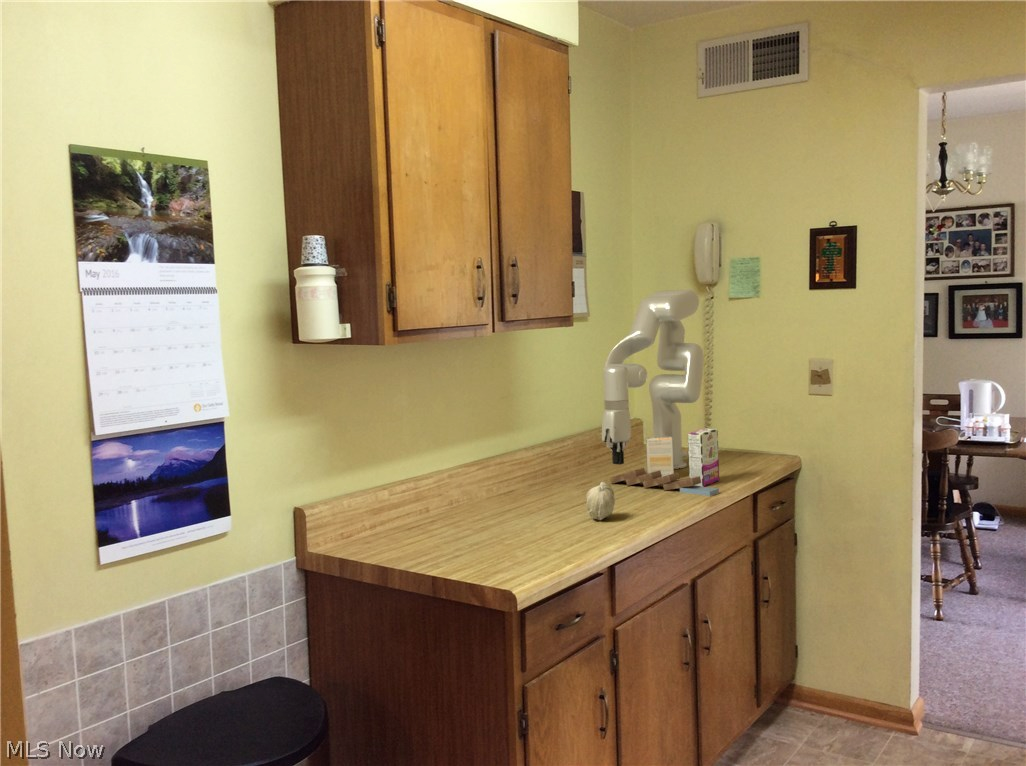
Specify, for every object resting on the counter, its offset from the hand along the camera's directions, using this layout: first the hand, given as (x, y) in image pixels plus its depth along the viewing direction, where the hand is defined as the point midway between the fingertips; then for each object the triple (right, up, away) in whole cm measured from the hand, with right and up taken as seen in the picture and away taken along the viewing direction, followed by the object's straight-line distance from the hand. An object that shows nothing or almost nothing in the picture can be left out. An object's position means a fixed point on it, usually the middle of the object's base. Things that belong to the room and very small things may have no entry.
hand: (618, 463), depth 280 cm
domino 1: (-1, -5, +1) cm, 5 cm away
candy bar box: (+26, -6, -5) cm, 27 cm away
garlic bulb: (-10, -11, -47) cm, 49 cm away
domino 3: (+8, -6, -7) cm, 12 cm away
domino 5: (+18, -6, -15) cm, 24 cm away
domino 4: (+13, -6, -11) cm, 19 cm away
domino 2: (+4, -5, -3) cm, 7 cm away
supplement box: (+14, -5, +5) cm, 16 cm away
